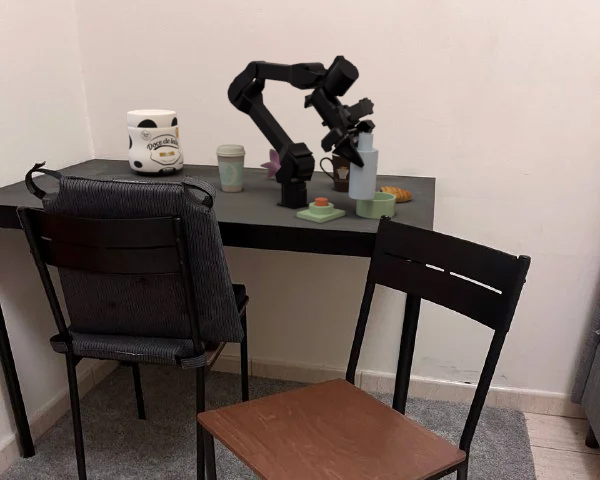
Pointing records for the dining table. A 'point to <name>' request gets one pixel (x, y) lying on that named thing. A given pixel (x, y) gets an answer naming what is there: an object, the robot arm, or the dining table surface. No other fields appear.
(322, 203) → the button
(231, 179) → the coffee cup
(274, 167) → the lily
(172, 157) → the doce de leite jar
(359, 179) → the bottle
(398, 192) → the pastry
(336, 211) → the panel
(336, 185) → the coffee mug
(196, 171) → the dining table surface
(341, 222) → the dining table surface
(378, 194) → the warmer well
